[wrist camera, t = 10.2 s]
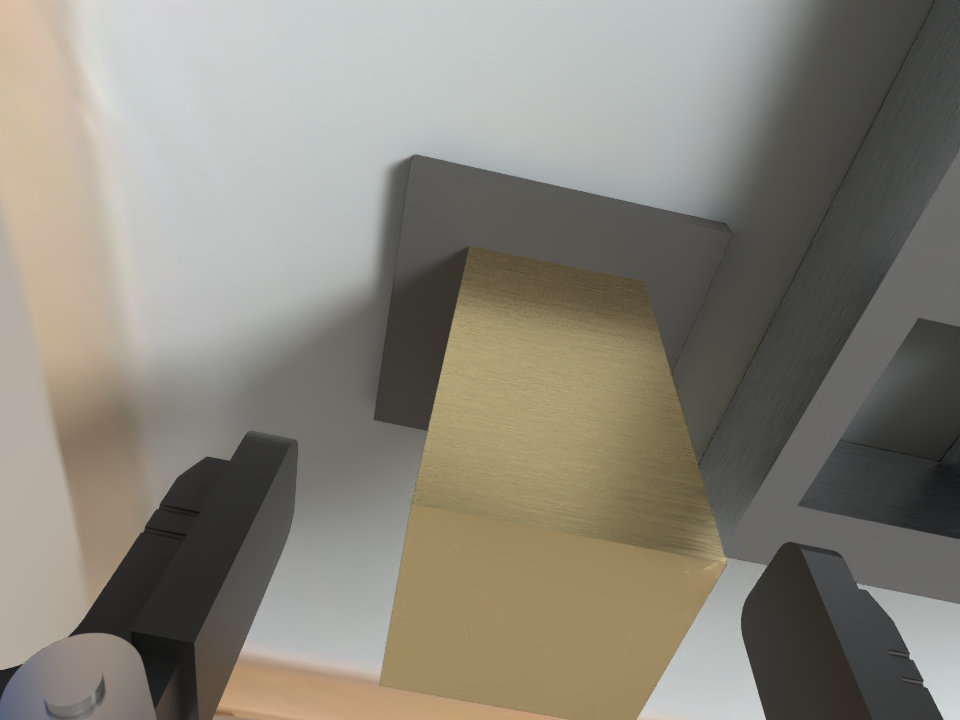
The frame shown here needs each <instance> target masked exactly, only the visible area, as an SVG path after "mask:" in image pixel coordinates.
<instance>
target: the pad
mask: <svg viewBox="0 0 960 720" xmlns="http://www.w3.org/2000/svg"><path fill="white" fill-rule="evenodd" d="M731 236H732V233H731V231H730V230H729V228H728V227H727V225H726V224H725V223H720V222H716V221H711V220H707V219H702V218H698V217H693V216H689V215H685V214H680V213H676V212H671V211H667V210H662V209H658V208H653V207H649V206H644V205H640V204H635V203H631V202H626V201H622V200H617V199H613V198H608V197H604V196H599V195H595V194H590V193H586V192H581V191H577V190H572V189H568V188H563V187H559V186H554V185H550V184H545V183H541V182H536V181H532V180H528V179H523V178H519V177H514V176H510V175H505V174H501V173H496V172H492V171H487V170H483V169H478V168H474V167H469V166H465V165H460V164H456V163H451V162H447V161H442V160H438V159H433V158H429V157H424V156H420V155H414V157H413V159H412V161H411V163H410V170H409V177H408V184H407V191H406V198H405V205H404V212H403V219H402V226H401V233H400V240H399V247H398V254H397V261H396V268H395V275H394V282H393V289H392V296H391V303H390V310H389V317H388V324H387V331H386V338H385V345H384V352H383V359H382V366H381V373H380V380H379V387H378V394H377V401H376V408H375V415H374V420H378V421H382V422H387V423H392V424H397V425H402V426H407V427H412V428H417V429H422V430H426V431H428V428H429V423H430V419H431V415H432V410H433V406H434V401H435V397H436V392H437V388H438V383H439V379H440V375H441V370H442V366H443V361H444V357H445V352H446V348H447V344H448V339H449V335H450V330H451V326H452V321H453V317H454V312H455V308H456V304H457V299H458V295H459V290H460V286H461V281H462V277H463V272H464V268H465V264H466V259H467V255H468V250H469V246H473V247H478V248H483V249H488V250H493V251H497V252H502V253H507V254H512V255H517V256H522V257H527V258H532V259H537V260H542V261H547V262H552V263H557V264H562V265H566V266H571V267H576V268H581V269H586V270H591V271H596V272H601V273H606V274H611V275H616V276H621V277H626V278H631V279H635V280H640V281H644V283H645V286H646V290H647V293H648V296H649V300H650V303H651V307H652V310H653V313H654V317H655V320H656V324H657V327H658V330H659V334H660V337H661V341H662V344H663V347H664V351H665V354H666V358H667V361H668V364H669V368H670V371H671V374H672V371H673V369H674V367H675V364H676V362H677V360H678V357H679V355H680V353H681V351H682V348H683V346H684V344H685V341H686V339H687V337H688V334H689V332H690V330H691V328H692V325H693V323H694V321H695V318H696V316H697V314H698V312H699V309H700V307H701V305H702V302H703V300H704V298H705V295H706V293H707V291H708V289H709V286H710V284H711V282H712V279H713V277H714V275H715V272H716V270H717V268H718V266H719V263H720V261H721V259H722V256H723V254H724V252H725V249H726V247H727V245H728V243H729V240H730V238H731Z"/></svg>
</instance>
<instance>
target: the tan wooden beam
mask: <svg viewBox="0 0 960 720" xmlns="http://www.w3.org/2000/svg"><path fill="white" fill-rule="evenodd" d="M726 565H727V561H726V558H725V555H724V551H723V548H722V544H721V541H720V538H719V534H718V531H717V527H716V524H715V521H714V517H713V514H712V510H711V507H710V504H709V500H708V497H707V494H706V490H705V487H704V483H703V480H702V477H701V473H700V470H699V466H698V463H697V460H696V456H695V453H694V449H693V446H692V443H691V439H690V436H689V432H688V429H687V426H686V422H685V419H684V415H683V412H682V409H681V405H680V402H679V398H678V395H677V392H676V388H675V385H674V381H673V378H672V375H671V371H670V368H669V364H668V361H667V358H666V354H665V351H664V347H663V344H662V341H661V337H660V334H659V330H658V327H657V324H656V320H655V317H654V313H653V310H652V307H651V303H650V300H649V296H648V293H647V290H646V286H645V283H644V281H640V280H635V279H631V278H626V277H621V276H616V275H611V274H606V273H601V272H596V271H591V270H586V269H581V268H576V267H571V266H566V265H562V264H557V263H552V262H547V261H542V260H537V259H532V258H527V257H522V256H517V255H512V254H507V253H502V252H497V251H493V250H488V249H483V248H478V247H473V246H469V250H468V255H467V259H466V264H465V268H464V272H463V277H462V281H461V286H460V290H459V295H458V299H457V304H456V308H455V312H454V317H453V321H452V326H451V330H450V335H449V339H448V344H447V348H446V352H445V357H444V361H443V366H442V370H441V375H440V379H439V383H438V388H437V392H436V397H435V401H434V406H433V410H432V415H431V419H430V423H429V428H428V432H427V437H426V441H425V446H424V450H423V454H422V459H421V463H420V468H419V472H418V477H417V481H416V486H415V490H414V494H413V499H412V503H411V509H410V514H409V520H408V526H407V531H406V537H405V542H404V548H403V554H402V559H401V565H400V570H399V576H398V582H397V587H396V593H395V599H394V604H393V610H392V615H391V621H390V627H389V632H388V638H387V643H386V649H385V655H384V660H383V666H382V671H381V677H380V683H379V686H384V687H390V688H395V689H401V690H407V691H412V692H418V693H423V694H429V695H435V696H440V697H446V698H451V699H457V700H463V701H468V702H474V703H479V704H485V705H491V706H496V707H502V708H507V709H513V710H519V711H524V712H530V713H535V714H541V715H547V716H552V717H558V718H563V719H569V720H636V719H637V718H638V716H639V714H640V712H641V711H642V709H643V707H644V706H645V704H646V702H647V700H648V699H649V697H650V695H651V694H652V692H653V690H654V688H655V687H656V685H657V683H658V681H659V680H660V678H661V676H662V675H663V673H664V671H665V669H666V668H667V666H668V664H669V663H670V661H671V659H672V657H673V656H674V654H675V652H676V651H677V649H678V647H679V645H680V644H681V642H682V640H683V639H684V637H685V635H686V633H687V632H688V630H689V628H690V626H691V625H692V623H693V621H694V620H695V618H696V616H697V614H698V613H699V611H700V609H701V608H702V606H703V604H704V602H705V601H706V599H707V597H708V596H709V594H710V592H711V590H712V589H713V587H714V585H715V584H716V582H717V580H718V578H719V577H720V575H721V573H722V571H723V570H724V568H725V566H726Z"/></svg>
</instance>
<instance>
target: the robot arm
mask: <svg viewBox="0 0 960 720" xmlns="http://www.w3.org/2000/svg"><path fill="white" fill-rule="evenodd" d="M297 458H298V442H297V440H294V439H289V438H284V437H279V436H274V435H269V434H264V433H259V432H254V431H249V432H248V433H247V434H246V435H245V436H244V438H243V440H242V441H241V443H240V445H239V446H238V448H237V450H236V452H235V453H234V455H233V457H232V458H231V460H230V461H227V460H222V459H217V458H212V457H205V458H204V459H203V460H201V461H200V462H198V463H197V464H196V465H194V466H193V467H191V468H190V469H189V470H187V471H186V472H184V473H183V474H182V475H180V476H179V477H178V478H177V479H176V481H175V482H174V484H173V485H172V487H171V488H170V490H169V491H168V493H167V494H166V496H165V497H164V499H163V500H162V502H161V503H160V507H159V509H158V510H157V509H156V511H155V512H154V514H153V515H152V517H151V518H150V520H149V521H148V523H147V524H146V526H145V530H144V532H143V533H140V535H139V536H138V538H137V539H136V541H135V542H134V544H133V545H132V547H131V549H130V550H129V552H128V553H127V555H126V556H125V558H124V559H123V561H122V562H121V564H120V565H119V567H118V568H117V570H116V571H115V573H114V574H113V576H112V577H111V579H110V580H109V582H108V583H107V585H106V586H105V588H104V589H103V591H102V592H101V594H100V595H99V597H98V598H97V600H96V601H95V603H94V604H93V606H92V607H91V609H90V610H89V612H88V613H87V615H86V616H85V618H84V619H83V620H82V622H81V623H80V624H79V626H78V627H77V628H76V629H75V630H74V632H72V633H71V634H70V635H69V636H68V637H67V638H65V639H62V640H60V641H57V642H55V643H53V644H51V645H49V646H47V647H45V648H43V649H42V650H41V651H39V652H37V653H36V654H35V655H33V656H32V657H31V658H29V659H28V660H27V661H26V662H25V663H24V664H21V665H19V666H15V667H12V668H9V669H5V670H0V720H212V719H213V716H214V714H215V711H216V709H217V707H218V704H219V702H220V699H221V697H222V695H223V692H224V690H225V687H226V685H227V683H228V680H229V678H230V675H231V673H232V671H233V668H234V666H235V663H236V661H237V659H238V656H239V654H240V651H241V649H242V647H243V644H244V642H245V639H246V637H247V635H248V632H249V630H250V627H251V625H252V623H253V620H254V618H255V615H256V613H257V611H258V608H259V606H260V603H261V601H262V599H263V596H264V594H265V591H266V589H267V587H268V584H269V582H270V579H271V577H272V575H273V572H274V570H275V567H276V565H277V563H278V560H279V558H280V555H281V553H282V551H283V548H284V546H285V543H286V540H287V537H288V534H289V531H290V527H291V523H292V518H293V513H294V504H295V489H296V473H297ZM741 630H742V636H743V640H744V644H745V647H746V651H747V654H748V658H749V661H750V665H751V668H752V672H753V675H754V679H755V682H756V686H757V689H758V693H759V696H760V700H761V703H762V707H763V710H764V714H765V717H766V720H943V718H942V716H941V714H940V712H939V710H938V708H937V706H936V704H935V702H934V700H933V698H932V696H931V694H930V692H929V690H928V688H926V687H923V681H924V680H923V679H922V677H921V675H920V673H919V671H918V669H917V667H916V665H915V663H914V661H913V660H910V659H909V654H910V653H909V651H908V649H907V647H906V645H905V643H904V641H903V639H902V637H901V635H900V633H899V631H898V629H897V627H896V626H895V624H894V622H893V620H892V619H891V618H890V617H889V616H888V614H887V613H886V612H885V611H884V610H883V609H882V608H881V606H880V605H879V604H878V603H877V602H876V601H875V600H874V598H873V597H872V596H871V595H870V594H869V593H868V592H867V590H862V589H859V588H858V586H857V584H856V582H855V580H854V578H853V576H852V574H851V572H850V570H849V568H848V566H847V564H846V562H845V560H844V558H843V557H842V556H841V554H839V553H838V552H836V551H833V550H829V549H824V548H819V547H814V546H809V545H804V544H799V543H794V542H787V543H785V544H783V545H782V546H781V547H780V548H779V550H778V551H777V553H776V554H775V556H774V557H773V559H772V560H771V562H770V563H769V565H768V566H767V568H766V569H765V571H764V572H763V574H762V575H761V577H760V578H759V580H758V582H757V583H756V585H755V586H754V588H753V589H752V591H751V592H750V594H749V595H748V597H747V599H746V601H745V603H744V606H743V610H742V617H741Z"/></svg>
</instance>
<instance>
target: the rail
mask: <svg viewBox="0 0 960 720" xmlns="http://www.w3.org/2000/svg"><path fill="white" fill-rule="evenodd" d="M918 318H922V319H926V320H931V321H936V322H940V323H945V324H949V325H954V326H958V327H960V0H936V1H935V3H934V5H933V7H932V9H931V11H930V13H929V15H928V17H927V19H926V21H925V23H924V24H923V26H922V28H921V30H920V32H919V34H918V36H917V38H916V40H915V42H914V44H913V46H912V48H911V50H910V52H909V54H908V56H907V58H906V60H905V62H904V64H903V66H902V68H901V70H900V72H899V74H898V75H897V77H896V79H895V81H894V83H893V85H892V87H891V89H890V91H889V93H888V95H887V97H886V99H885V101H884V103H883V105H882V107H881V109H880V111H879V113H878V115H877V117H876V119H875V121H874V123H873V125H872V127H871V128H870V130H869V132H868V134H867V136H866V138H865V140H864V142H863V144H862V146H861V148H860V150H859V152H858V154H857V156H856V158H855V160H854V162H853V164H852V166H851V168H850V170H849V172H848V174H847V176H846V178H845V179H844V181H843V183H842V185H841V187H840V189H839V191H838V193H837V195H836V197H835V199H834V201H833V203H832V205H831V207H830V209H829V211H828V213H827V215H826V217H825V219H824V221H823V223H822V225H821V227H820V229H819V230H818V232H817V234H816V236H815V238H814V240H813V242H812V244H811V246H810V248H809V250H808V252H807V254H806V256H805V258H804V260H803V262H802V264H801V266H800V268H799V270H798V272H797V274H796V276H795V278H794V280H793V282H792V283H791V285H790V287H789V289H788V291H787V293H786V295H785V297H784V299H783V301H782V303H781V305H780V307H779V309H778V311H777V313H776V315H775V317H774V319H773V321H772V323H771V325H770V327H769V329H768V331H767V333H766V334H765V336H764V338H763V340H762V342H761V344H760V346H759V348H758V350H757V352H756V354H755V356H754V358H753V360H752V362H751V364H750V366H749V368H748V370H747V372H746V374H745V376H744V378H743V380H742V382H741V384H740V385H739V387H738V389H737V391H736V393H735V395H734V397H733V399H732V401H731V403H730V405H729V407H728V409H727V411H726V413H725V415H724V417H723V419H722V421H721V423H720V425H719V427H718V429H717V431H716V433H715V435H714V437H713V438H712V440H711V442H710V444H709V446H708V448H707V450H706V452H705V454H704V456H703V458H702V460H701V462H700V464H699V470H700V473H701V477H702V480H703V483H704V487H705V490H706V494H707V497H708V500H709V504H710V507H711V510H712V514H713V517H714V521H715V524H716V527H717V531H718V534H719V538H720V541H721V544H722V548H723V551H724V555H725V557H728V558H733V559H738V560H743V561H748V562H753V563H758V564H763V565H769V563H770V562H771V560H772V559H773V557H774V556H775V554H776V553H777V551H778V550H779V548H780V547H781V546H782V545H783V544H785V543H787V542H794V543H799V544H804V545H809V546H814V547H819V548H824V549H829V550H833V551H836V552H838V553H839V554H841V556H842V557H843V558H844V560H845V562H846V564H847V566H848V568H849V570H850V572H851V574H852V576H853V578H854V580H855V582H856V583H858V584H863V585H868V586H873V587H878V588H883V589H888V590H893V591H898V592H903V593H908V594H913V595H918V596H923V597H928V598H933V599H938V600H943V601H948V602H953V603H958V604H960V436H959V438H958V439H957V440H956V442H955V443H954V444H953V446H952V447H951V448H950V449H949V451H948V452H947V453H946V455H945V456H944V457H943V458H942V460H941V461H940V462H939V461H934V460H930V459H925V458H920V457H915V456H911V455H906V454H901V453H896V452H892V451H887V450H882V449H877V448H873V447H868V446H863V445H858V444H853V443H849V442H844V441H839V440H840V439H841V437H842V435H843V434H844V432H845V431H846V429H847V428H848V426H849V425H850V423H851V422H852V420H853V418H854V417H855V415H856V414H857V412H858V411H859V409H860V408H861V406H862V405H863V403H864V401H865V400H866V398H867V397H868V395H869V394H870V392H871V391H872V389H873V388H874V386H875V384H876V383H877V381H878V380H879V378H880V377H881V375H882V374H883V372H884V371H885V369H886V367H887V366H888V364H889V363H890V361H891V360H892V358H893V357H894V355H895V354H896V352H897V350H898V349H899V347H900V346H901V344H902V343H903V341H904V340H905V338H906V337H907V335H908V333H909V332H910V330H911V329H912V327H913V326H914V324H915V323H916V321H917V320H918Z"/></svg>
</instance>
